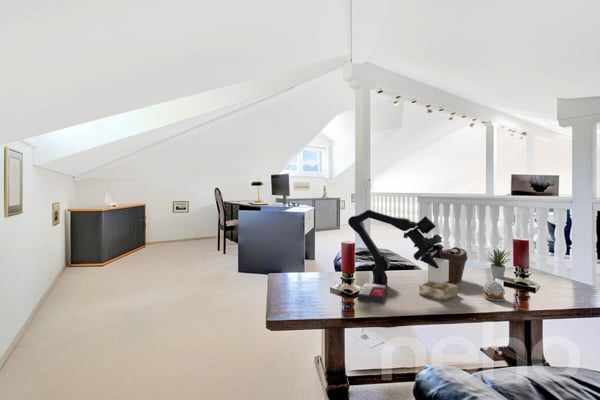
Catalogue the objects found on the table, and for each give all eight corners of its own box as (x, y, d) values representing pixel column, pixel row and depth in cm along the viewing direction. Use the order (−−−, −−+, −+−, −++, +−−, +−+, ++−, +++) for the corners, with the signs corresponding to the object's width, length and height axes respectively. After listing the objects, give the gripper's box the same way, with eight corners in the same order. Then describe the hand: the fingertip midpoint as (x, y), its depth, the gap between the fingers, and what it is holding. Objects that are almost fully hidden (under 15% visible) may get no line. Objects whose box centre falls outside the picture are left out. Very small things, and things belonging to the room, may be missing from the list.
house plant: (522, 279, 163) (523, 249, 162) (501, 281, 160) (501, 250, 159) (500, 272, 176) (500, 244, 176) (479, 274, 174) (480, 246, 173)
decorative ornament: (508, 302, 131) (508, 267, 131) (490, 302, 131) (490, 267, 131) (497, 296, 139) (497, 263, 138) (480, 296, 139) (480, 263, 138)
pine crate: (419, 294, 142) (419, 285, 141) (431, 289, 149) (431, 279, 149) (445, 301, 132) (445, 291, 132) (457, 295, 140) (457, 285, 140)
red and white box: (357, 292, 135) (363, 281, 149) (357, 302, 136) (363, 290, 150) (382, 295, 131) (386, 284, 145) (382, 305, 131) (387, 292, 145)
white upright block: (428, 281, 141) (428, 259, 141) (434, 278, 145) (434, 257, 145) (442, 284, 136) (442, 262, 136) (448, 281, 140) (448, 260, 140)
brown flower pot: (471, 278, 165) (471, 245, 165) (462, 288, 150) (461, 252, 150) (437, 273, 177) (436, 243, 177) (425, 281, 162) (424, 248, 162)
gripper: (420, 231, 137) (444, 259, 129) (439, 227, 149) (463, 253, 141) (404, 246, 143) (426, 274, 135) (424, 241, 155) (445, 267, 147)
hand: (441, 266), depth 139 cm, fingers closed on white upright block, 6 cm apart
